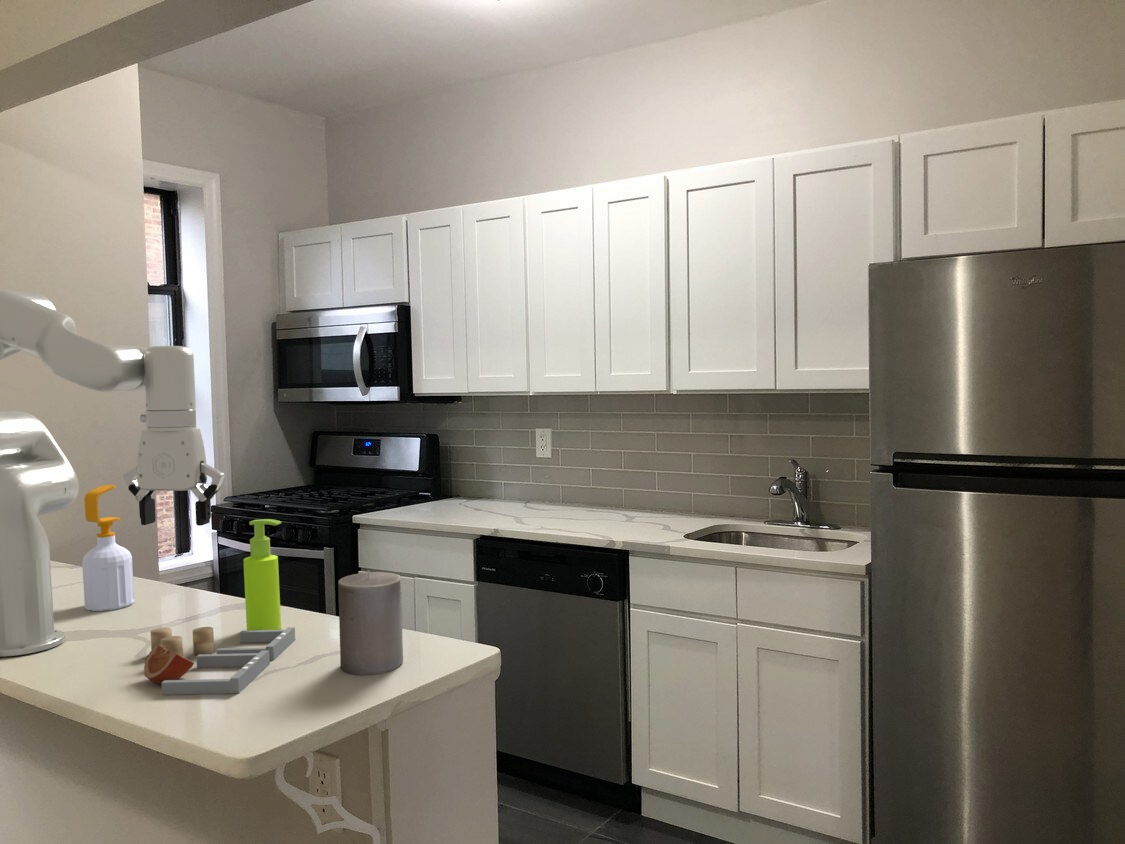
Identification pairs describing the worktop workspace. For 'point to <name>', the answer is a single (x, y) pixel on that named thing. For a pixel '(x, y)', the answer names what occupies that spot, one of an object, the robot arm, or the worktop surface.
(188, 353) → the robot arm
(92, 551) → the soap bottle
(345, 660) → the pillar candle
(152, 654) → the fruit slice
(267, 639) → the corral
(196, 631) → the cork
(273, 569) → the soap dispenser
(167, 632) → the cork
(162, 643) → the cork
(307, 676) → the worktop surface
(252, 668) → the corral
